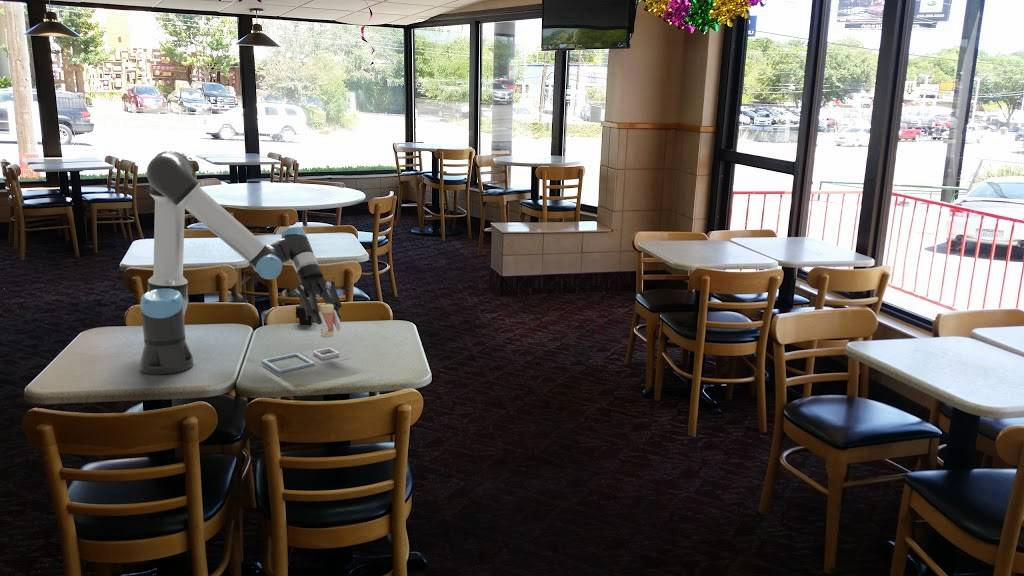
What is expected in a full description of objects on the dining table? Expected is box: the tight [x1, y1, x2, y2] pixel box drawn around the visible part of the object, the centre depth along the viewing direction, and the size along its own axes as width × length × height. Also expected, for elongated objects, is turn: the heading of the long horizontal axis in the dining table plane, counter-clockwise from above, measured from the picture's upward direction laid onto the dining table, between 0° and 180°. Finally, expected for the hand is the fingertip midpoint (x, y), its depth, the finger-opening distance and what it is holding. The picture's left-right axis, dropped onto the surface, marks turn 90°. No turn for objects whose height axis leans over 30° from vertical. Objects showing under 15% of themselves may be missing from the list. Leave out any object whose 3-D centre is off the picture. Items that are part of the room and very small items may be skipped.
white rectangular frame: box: [301, 346, 351, 365], centre depth 254 cm, size 10×14×3 cm
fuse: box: [319, 303, 335, 339], centre depth 251 cm, size 4×4×10 cm
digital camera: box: [295, 299, 314, 326], centre depth 294 cm, size 10×5×7 cm, turn 11°
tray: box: [261, 352, 315, 378], centre depth 246 cm, size 12×12×2 cm
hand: (332, 330), depth 249 cm, fingers closed on fuse, 4 cm apart
